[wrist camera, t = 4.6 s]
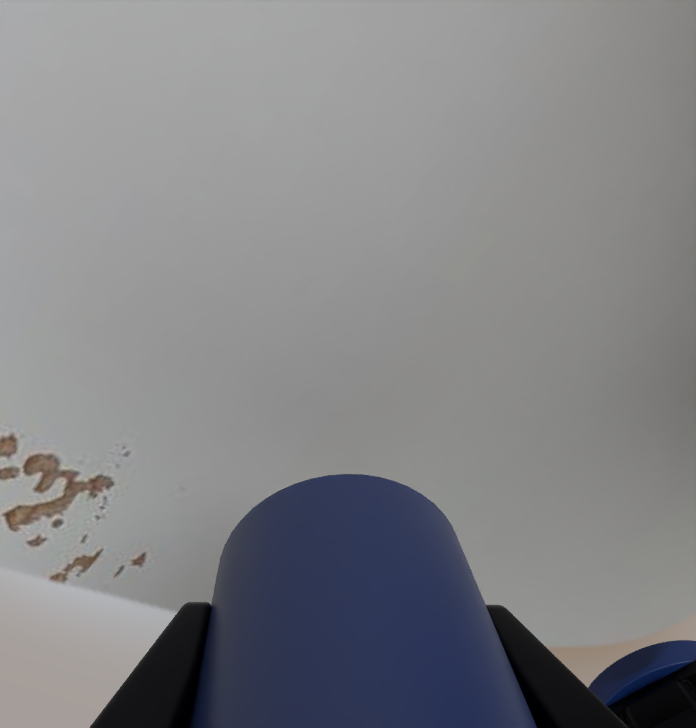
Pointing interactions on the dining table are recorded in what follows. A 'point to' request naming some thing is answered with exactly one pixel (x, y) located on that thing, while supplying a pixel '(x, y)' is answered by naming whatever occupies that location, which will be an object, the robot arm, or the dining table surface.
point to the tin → (351, 618)
